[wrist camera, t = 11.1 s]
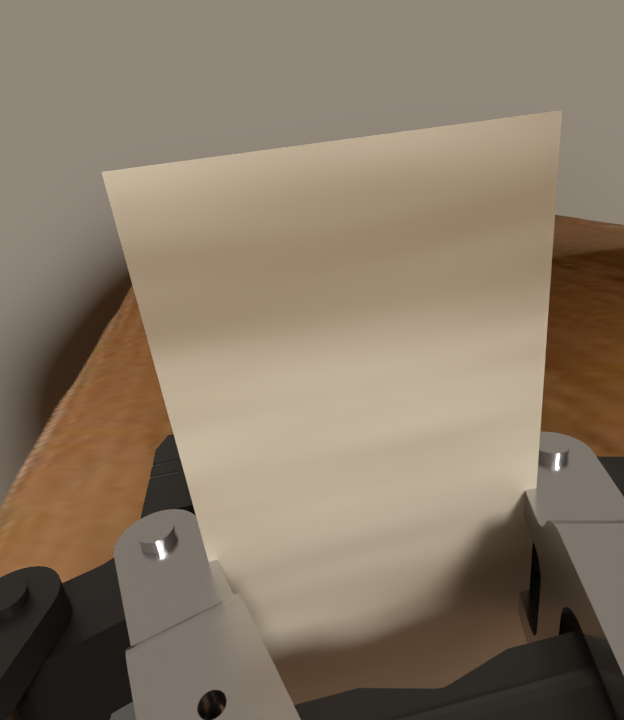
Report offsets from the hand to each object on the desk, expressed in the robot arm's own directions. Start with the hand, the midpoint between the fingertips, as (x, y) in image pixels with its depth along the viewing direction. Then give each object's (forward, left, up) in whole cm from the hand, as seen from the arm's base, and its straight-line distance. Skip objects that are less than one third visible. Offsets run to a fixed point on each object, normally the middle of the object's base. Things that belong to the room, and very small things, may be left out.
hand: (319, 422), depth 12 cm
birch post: (+2, +2, -7) cm, 8 cm away
